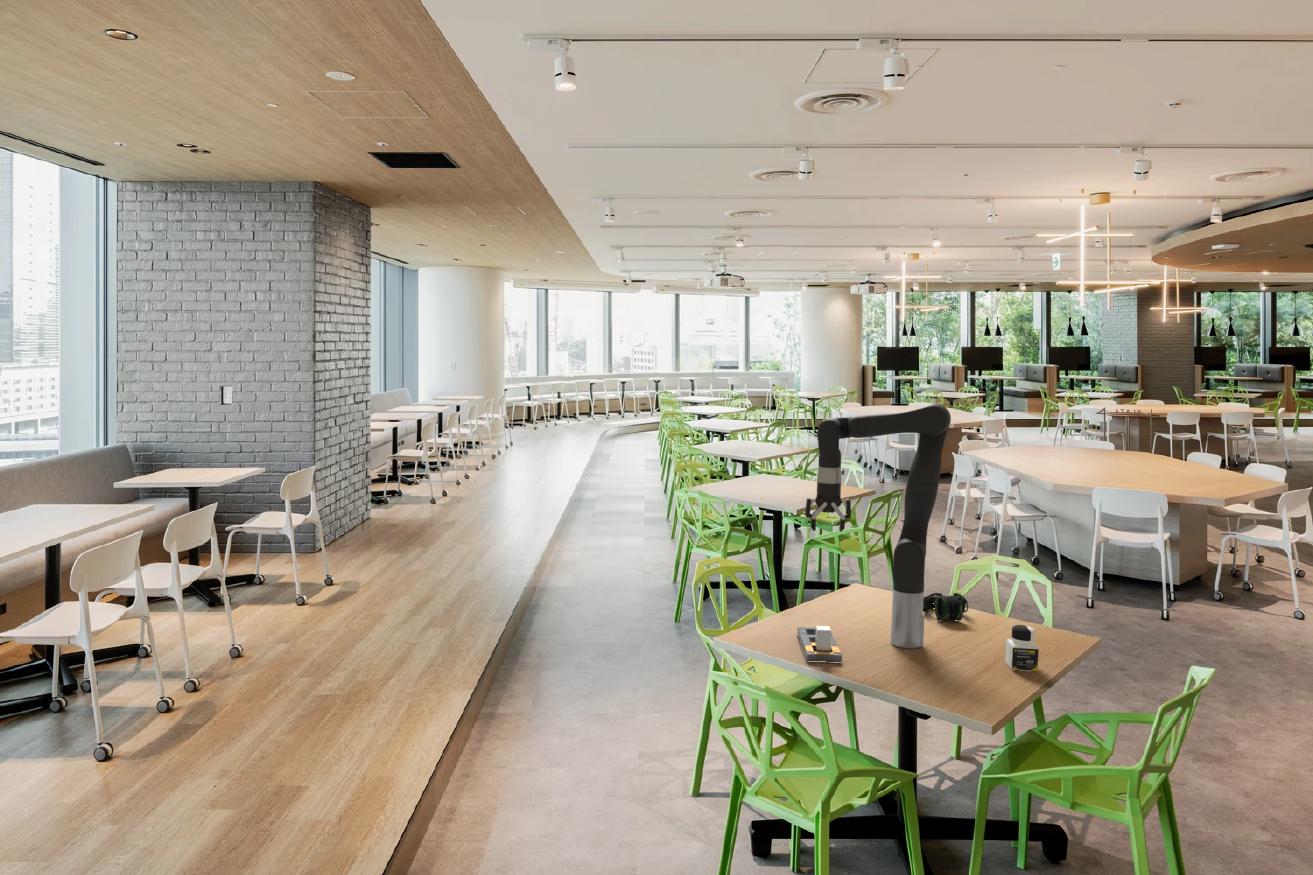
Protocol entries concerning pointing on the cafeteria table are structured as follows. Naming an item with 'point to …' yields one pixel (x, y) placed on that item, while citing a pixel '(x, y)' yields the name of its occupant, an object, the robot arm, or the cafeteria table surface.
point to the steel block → (823, 639)
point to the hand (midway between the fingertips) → (827, 530)
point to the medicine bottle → (1022, 649)
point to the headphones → (946, 606)
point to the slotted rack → (808, 646)
